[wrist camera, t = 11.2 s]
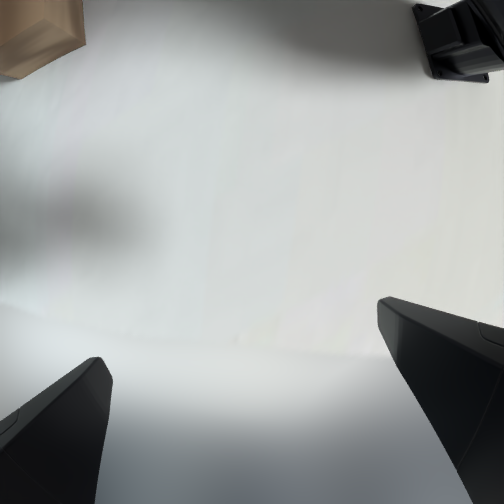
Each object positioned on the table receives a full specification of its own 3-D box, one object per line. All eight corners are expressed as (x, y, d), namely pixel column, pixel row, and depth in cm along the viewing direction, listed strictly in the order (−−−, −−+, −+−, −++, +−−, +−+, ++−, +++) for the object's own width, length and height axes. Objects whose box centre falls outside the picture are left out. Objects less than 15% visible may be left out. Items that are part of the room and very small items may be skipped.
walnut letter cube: (82, -17, 13) (47, -50, 8) (86, 44, 15) (43, 18, 10) (20, 17, 13) (-22, -2, 8) (21, 79, 15) (-28, 68, 10)
